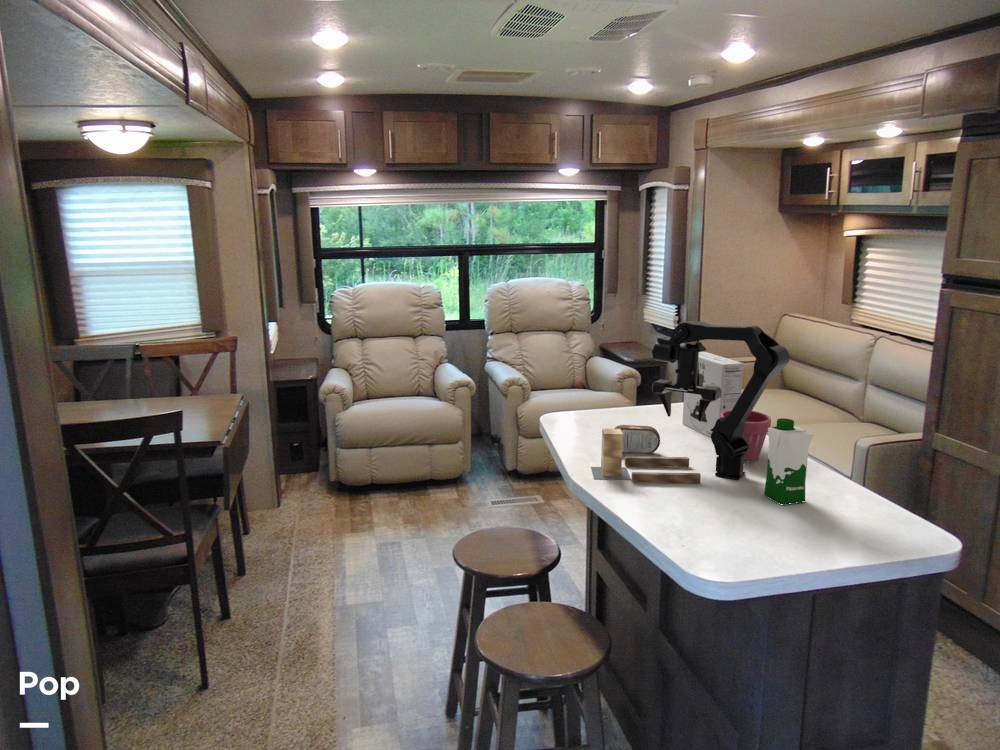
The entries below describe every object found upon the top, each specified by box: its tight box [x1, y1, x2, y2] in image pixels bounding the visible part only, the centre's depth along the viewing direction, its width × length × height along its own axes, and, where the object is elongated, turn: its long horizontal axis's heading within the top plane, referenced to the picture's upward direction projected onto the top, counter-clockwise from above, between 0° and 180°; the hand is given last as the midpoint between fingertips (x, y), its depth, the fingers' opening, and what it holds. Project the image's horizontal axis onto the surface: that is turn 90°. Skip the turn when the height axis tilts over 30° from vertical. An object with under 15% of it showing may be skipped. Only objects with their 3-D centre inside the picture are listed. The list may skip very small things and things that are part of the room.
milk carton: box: [763, 417, 815, 505], centre depth 184 cm, size 9×9×20 cm
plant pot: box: [721, 410, 772, 463], centre depth 217 cm, size 14×14×13 cm
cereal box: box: [682, 351, 744, 438], centre depth 243 cm, size 22×8×25 cm, turn 17°
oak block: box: [600, 428, 623, 476], centre depth 203 cm, size 5×5×12 cm
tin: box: [613, 424, 661, 455], centre depth 221 cm, size 15×3×8 cm, turn 84°
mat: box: [590, 466, 632, 481], centre depth 204 cm, size 10×10×1 cm
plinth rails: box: [624, 455, 702, 485], centre depth 204 cm, size 18×15×2 cm
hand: (684, 418), depth 211 cm, fingers open, 9 cm apart
